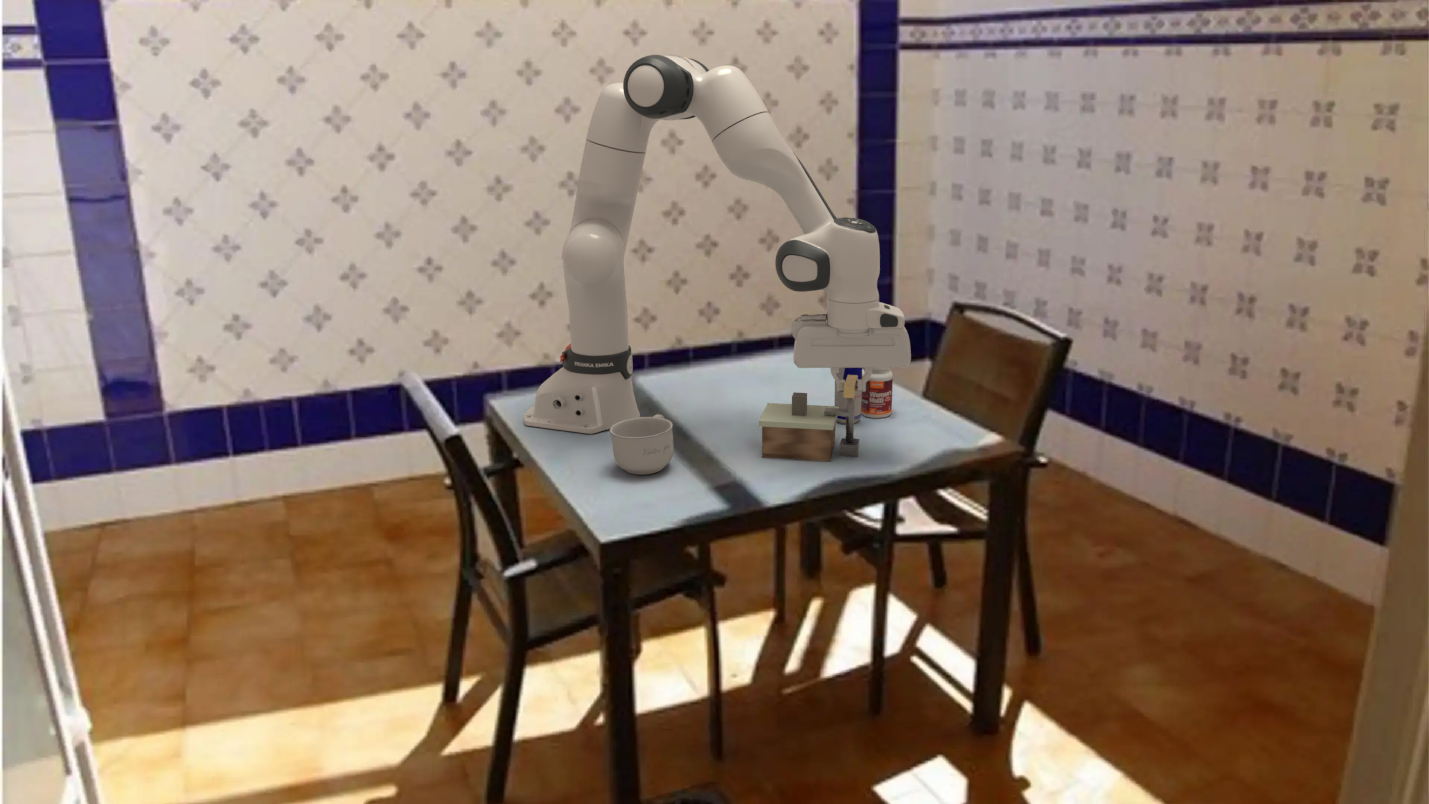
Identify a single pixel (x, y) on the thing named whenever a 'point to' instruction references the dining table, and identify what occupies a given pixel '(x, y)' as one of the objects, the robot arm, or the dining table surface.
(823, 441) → the box
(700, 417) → the dining table surface
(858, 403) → the beverage can
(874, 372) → the pill bottle
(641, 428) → the teacup
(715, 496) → the dining table surface
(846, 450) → the key socket
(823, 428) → the lid
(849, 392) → the key
